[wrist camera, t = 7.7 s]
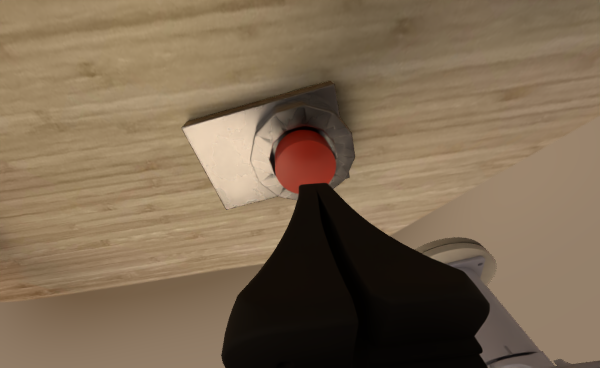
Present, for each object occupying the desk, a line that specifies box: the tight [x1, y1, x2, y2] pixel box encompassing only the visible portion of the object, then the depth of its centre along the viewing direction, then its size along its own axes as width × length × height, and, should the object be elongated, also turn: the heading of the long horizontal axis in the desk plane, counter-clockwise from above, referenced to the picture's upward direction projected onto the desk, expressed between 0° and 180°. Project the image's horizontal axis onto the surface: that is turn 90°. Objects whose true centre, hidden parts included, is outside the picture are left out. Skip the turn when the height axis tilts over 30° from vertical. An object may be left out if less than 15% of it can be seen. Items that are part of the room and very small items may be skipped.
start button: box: [275, 130, 336, 194], centre depth 15 cm, size 4×4×2 cm
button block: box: [181, 81, 355, 210], centre depth 17 cm, size 10×7×3 cm
